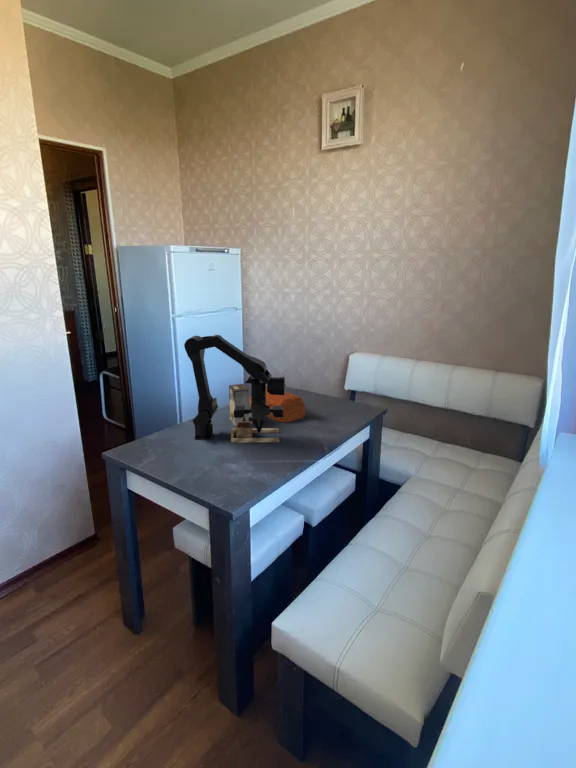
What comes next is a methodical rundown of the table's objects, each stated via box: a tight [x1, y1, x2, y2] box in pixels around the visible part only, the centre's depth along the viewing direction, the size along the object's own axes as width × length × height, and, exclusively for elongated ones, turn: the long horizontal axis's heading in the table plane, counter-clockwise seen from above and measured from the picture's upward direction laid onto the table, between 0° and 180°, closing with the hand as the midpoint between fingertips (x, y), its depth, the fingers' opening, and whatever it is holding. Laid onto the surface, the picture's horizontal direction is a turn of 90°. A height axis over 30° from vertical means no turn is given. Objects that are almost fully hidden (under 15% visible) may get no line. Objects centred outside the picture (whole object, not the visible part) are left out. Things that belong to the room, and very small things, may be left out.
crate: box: [235, 421, 253, 438], centre depth 164 cm, size 6×7×5 cm
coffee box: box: [228, 383, 250, 427], centre depth 179 cm, size 9×6×16 cm
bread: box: [248, 385, 306, 424], centre depth 191 cm, size 16×27×11 cm, turn 38°
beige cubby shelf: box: [230, 427, 280, 444], centre depth 164 cm, size 20×12×3 cm, turn 93°
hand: (259, 432), depth 164 cm, fingers closed
